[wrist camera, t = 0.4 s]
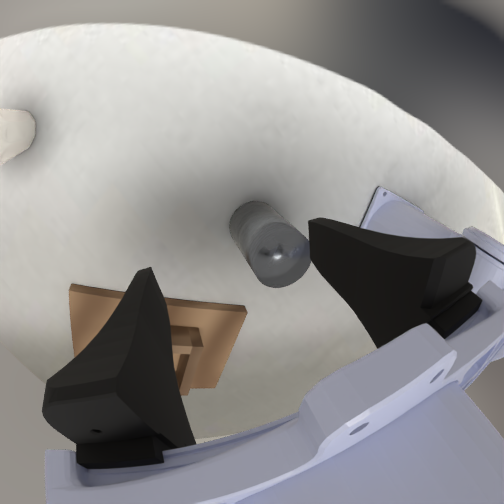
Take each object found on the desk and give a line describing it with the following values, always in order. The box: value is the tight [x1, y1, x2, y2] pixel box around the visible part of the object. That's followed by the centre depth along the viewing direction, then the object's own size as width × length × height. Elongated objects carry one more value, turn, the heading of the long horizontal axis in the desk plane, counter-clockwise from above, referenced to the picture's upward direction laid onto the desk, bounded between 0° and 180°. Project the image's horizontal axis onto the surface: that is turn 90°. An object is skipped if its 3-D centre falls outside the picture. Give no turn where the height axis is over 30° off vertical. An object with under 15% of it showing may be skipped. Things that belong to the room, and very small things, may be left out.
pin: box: [229, 201, 311, 288], centre depth 20 cm, size 4×4×6 cm
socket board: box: [69, 284, 248, 395], centre depth 23 cm, size 16×12×4 cm
